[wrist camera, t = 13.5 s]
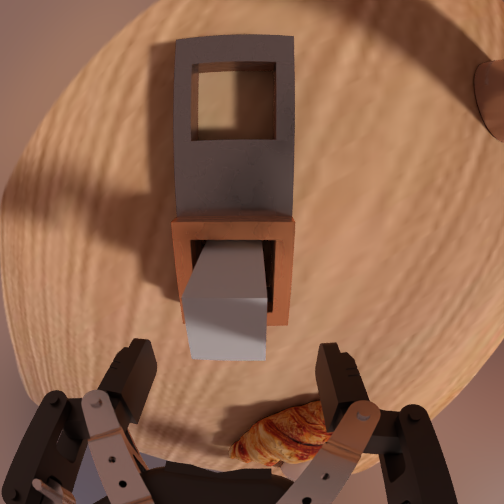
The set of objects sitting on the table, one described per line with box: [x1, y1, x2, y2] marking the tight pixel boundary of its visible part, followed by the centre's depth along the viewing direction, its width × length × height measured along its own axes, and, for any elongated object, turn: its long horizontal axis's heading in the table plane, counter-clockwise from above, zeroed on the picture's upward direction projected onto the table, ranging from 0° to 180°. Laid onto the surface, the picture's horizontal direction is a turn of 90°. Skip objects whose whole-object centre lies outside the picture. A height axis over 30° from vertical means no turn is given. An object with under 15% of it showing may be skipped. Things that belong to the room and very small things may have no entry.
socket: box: [171, 35, 295, 326], centre depth 18 cm, size 22×8×4 cm, turn 0°
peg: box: [181, 240, 267, 361], centre depth 18 cm, size 4×4×10 cm
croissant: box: [228, 401, 333, 466], centre depth 29 cm, size 21×10×8 cm, turn 132°
